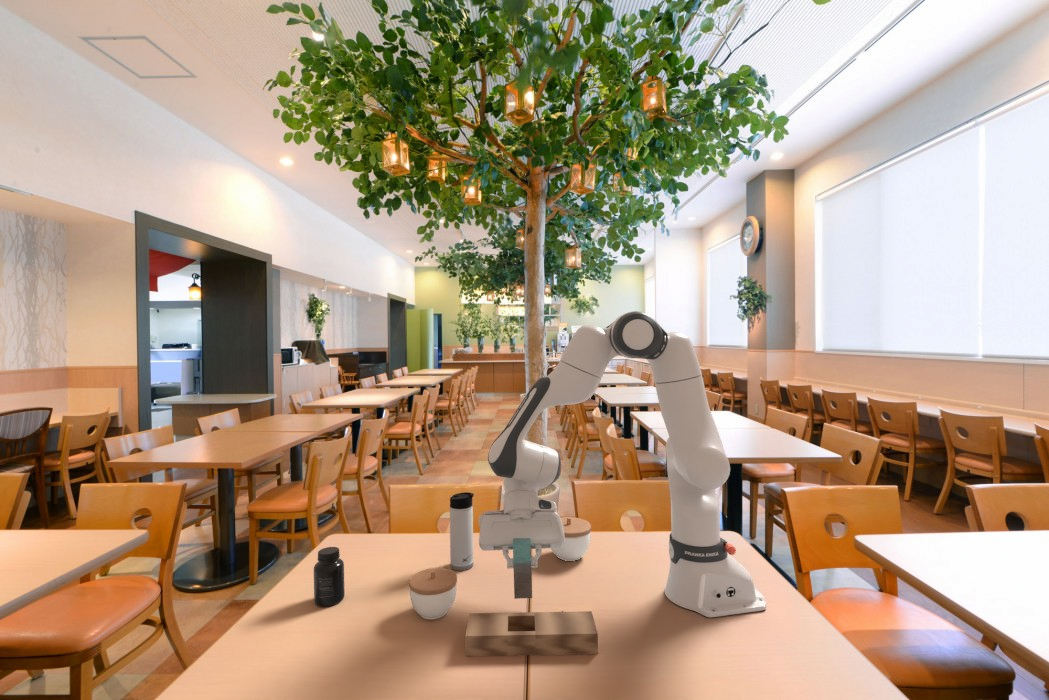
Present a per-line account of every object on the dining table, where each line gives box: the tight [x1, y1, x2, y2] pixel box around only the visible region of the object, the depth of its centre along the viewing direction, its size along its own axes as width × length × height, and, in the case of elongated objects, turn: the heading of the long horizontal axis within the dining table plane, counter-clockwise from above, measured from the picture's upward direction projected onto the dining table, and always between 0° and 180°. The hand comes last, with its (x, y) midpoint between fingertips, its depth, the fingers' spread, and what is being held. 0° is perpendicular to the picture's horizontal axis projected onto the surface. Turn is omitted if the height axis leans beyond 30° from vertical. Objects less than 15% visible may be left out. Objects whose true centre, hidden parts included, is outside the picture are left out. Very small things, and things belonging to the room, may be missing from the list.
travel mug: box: [449, 491, 475, 572], centre depth 134 cm, size 6×7×20 cm
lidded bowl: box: [550, 516, 592, 562], centre depth 140 cm, size 13×13×11 cm
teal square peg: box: [512, 538, 533, 600], centre depth 111 cm, size 4×4×12 cm
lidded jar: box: [408, 567, 458, 621], centre depth 111 cm, size 11×11×9 cm
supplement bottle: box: [313, 546, 346, 608], centre depth 117 cm, size 7×7×12 cm
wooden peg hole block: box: [464, 610, 599, 657], centre depth 100 cm, size 26×8×4 cm, turn 91°
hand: (522, 567), depth 111 cm, fingers closed on teal square peg, 4 cm apart
